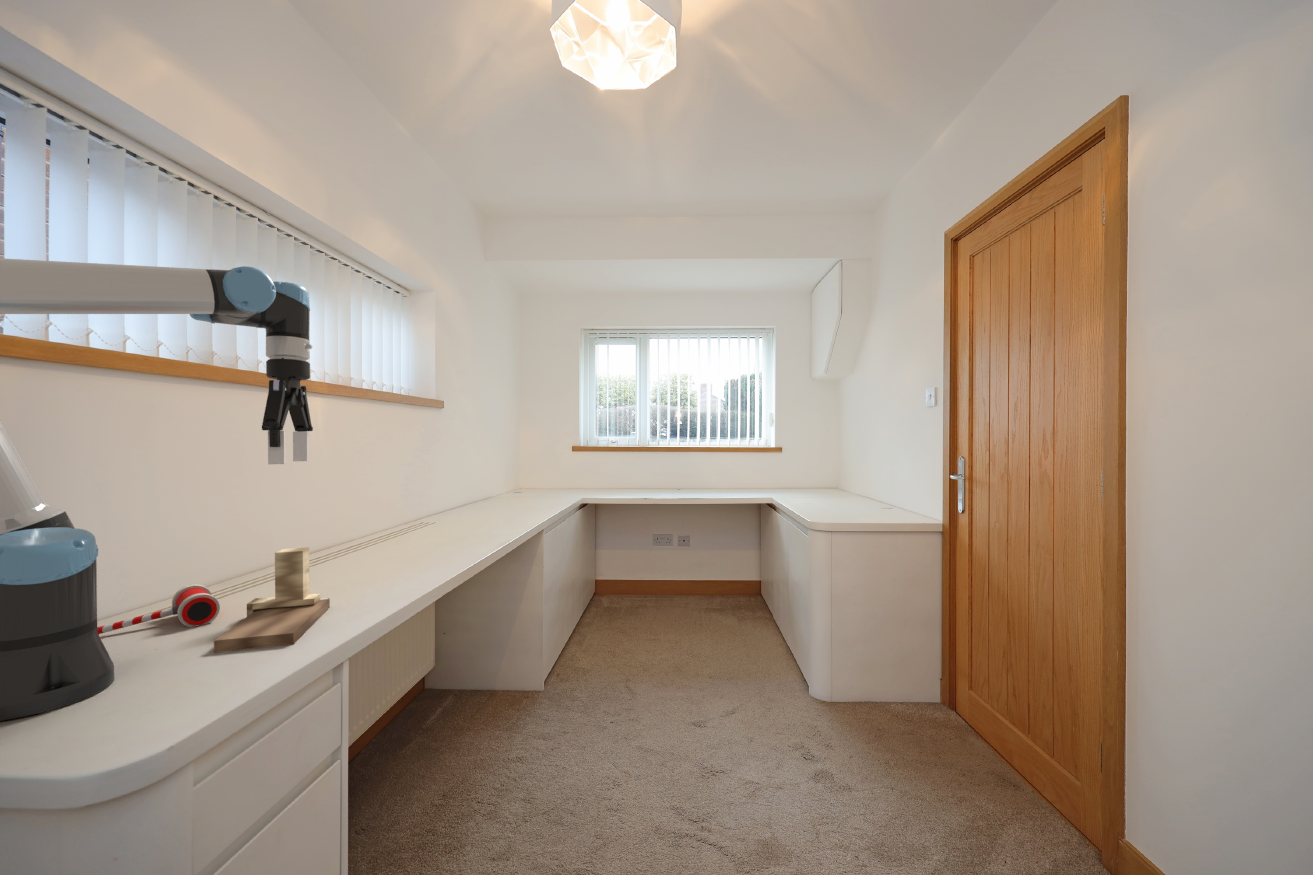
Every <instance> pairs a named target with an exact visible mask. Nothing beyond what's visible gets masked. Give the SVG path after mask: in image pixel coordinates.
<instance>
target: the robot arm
mask: <svg viewBox="0 0 1313 875" xmlns="http://www.w3.org/2000/svg"><path fill="white" fill-rule="evenodd" d="M310 311H311V307H310V297H309V292H308V290H307V289H306V287H304V286H302V285H301V284H297V283H294V282H287V281H285V282H283V281H273V280H272V278H271V277H270V276H269V275H268V274H267V273H266V272H264V271H263V270H261V269H259V268H256V267H253V266H249V265H248V266H247V265H246V266H237V267H233V268H232V269H229V270H228V269H215V268H214V269H213V268H212V269H204V268H191V267H189V268H188V267H175V266H174V267H170V266H155V265H154V266H150V265H132V264H117V263H116V264H113V263H97V262H96V263H93V262H76V261H75V262H74V261H56V260H55V261H54V260H37V259H21V258H20V259H19V258H18V259H17V258H0V315H189V316H190V317H191V318H192V319H193V320H195V321H201V322H207V323H210V324H224V325H232V326H242V327H248V328H249V327H251V328H256V329H265V356H266V357H267V358H269V359H267V360H266V362H265V364H266V366H265V367H266V369H265V371H266V373H265V374H266V375H265V376H266V377H267V378H268V379H270V380H269V381H268V392H267V399H266V403H265V408H264V413H263V418H262V423H261V424H262V425H261V431H267V464H268V465H286V464H287V463H286V458H287V456H286V452H287V451H286V430H283V429H284V427H285V424H286V419H287V416H288V414H289V415H290V419H291V421H292V426H293V429H294V431H292V461H293V462H309V432H313V430H314V427H313V425H312V421H311V414H310V408H309V403H308V396H307V386H305V385H301V381H308V380H310V378H311V363H310V362H309V361H307V360H309V359H310V357H311V356H310V350H312V348H313V345H312V344H310ZM96 540H97V539H96V536H95V535H94V534H93V533H92V532H90V531H89V530H86V529H83V528H75V526H74V524H73V522H72V520H71V518H70V517H69V515H68V514H67V512H66V510H65V508H62V507H59V506H56V505H55V506H54V505H51V504H48V503H47V502H46V500H45V498H44V497H43V495H42V494H41V492H40V489H39V487H37V485H36V483H35V481H34V479H33V477H32V476H31V474H30V472H29V470H28V468H27V466H26V465H25V462H24V461H23V459H22V458H21V456H20V453H19V452H18V450H17V448H16V447H15V445H14V443H13V441H12V439H11V438H10V436H9V434H8V432H7V430H6V429H5V427H4V424H3V423H2V421H1V420H0V722H1V721H7V720H13V719H18V718H23V717H28V716H33V715H36V714H41V713H45V712H48V711H51V710H55V709H59V708H63V707H65V706H69V705H72V704H75V703H76V702H77V703H78V702H79V701H82V700H84V699H87V698H89V697H92V696H93V695H96V694H99V693H101V692H102V691H103V690H104V691H105V690H106V689H107V688H109V687H110V686H111V685H112V684H113V683H114V681H115V665H114V661H112V658H111V656H110V655H109V652H108V650H107V648H106V646H105V644H104V642H103V640H102V638H101V636H100V634H98V631H97V627H98V583H97V582H98V580H97V578H98V574H97V571H98V570H97V568H98V566H97V565H98V564H97V558H98V556H99V548H98V545H97V541H96Z"/></svg>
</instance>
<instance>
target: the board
mask: <svg viewBox="0 0 1313 875" xmlns="http://www.w3.org/2000/svg"><path fill="white" fill-rule="evenodd" d="M330 600H331V599H330V598H320V600H319V601H318V602H316V603H315V604H313V605H301V606H289V607H277V608H265V609H257V610H256V611H254V612H253V613H252V614H250V615H249V616H247V615H246V617H245V618H244V619H242V620H241V621H239V622H238V623H237V624H235V625H234V626H232V627H231V628H229V629H228V630H227V631H225V632H224V633H223V634H221V635H219V636H218V637H217V638H216V639H214V640H213V653H218V652H230V651H238V650H239V651H240V650H248V649H259V648H260V649H261V648H268V647H269V648H270V647H280V646H290V645H294V644H296V642H298V640H300V638H301V637H302V636H304V634H305V633H306V632H308V630H309V629H310V628H312V627H313V625H314V624H315V623H316V622H317V621H318V620H319V619H320V618H321V617H323V615H324V614H326V612H327V611H328V610H329V609H330V608H331V603H330V602H331V601H330Z"/></svg>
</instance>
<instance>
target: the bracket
mask: <svg viewBox="0 0 1313 875" xmlns="http://www.w3.org/2000/svg"><path fill="white" fill-rule="evenodd" d="M310 586H311V585H310V547H309V546H307V547H306V546H305V547H293V548H292V547H291V548H281V549H279V550H277V551H276V552H274V593H275V596H271V597H270V596H269V597H268V596H267V597H258V598H253V599H252V600H251V601H249V602H247V603H246V617H247V616H249V615H250V614H252V613H253V612H254V611H256V610H257V609H265V608H277V607H289V606H301V605H313V604H315V603H316V602H318V601H319V600H320V599H321V593H320V592H319V593H311V592H310Z"/></svg>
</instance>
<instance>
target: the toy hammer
mask: <svg viewBox="0 0 1313 875" xmlns="http://www.w3.org/2000/svg"><path fill="white" fill-rule="evenodd" d="M171 599H172V600H171V605H172V607H171V608H166V609H164V610H158V611H154V612H151V613H148V614H147V613H146V614H143V615H140V616H136V617H132V618H131V617H130V618H128V619H127V618H126V619H124V620H120V621H115V622H113V623H108V624H105V625H100V626H97V631H98V634H99V635H101V634H105V633H109V632H112V631H116V630H119V629H124V628H127V627H132V626H134V625H138V624H142V623H146V622H147V623H148V622H150V621H154V620H159V619H162V618H165V617H169V616H171V615H172V616H176V615H177V618H178V620H179V621H180V623H181V624H182V625H184V626H186V627H188V628H193V627H198V626H203V625H208V624H207V623H209V624H211V623H212V622H213V621H214V620H216V618H217V617H218V615H219V613H220V609H221V605H220V602H219V600H218V599H217V598H216V597H215V596H214V595H212V592H211V591H210V590H209V589H208V588H207V587H206V586H205V585H202V584H197V583H195V584H189V585H185V586H183V587H181V588H180V589H179V590H177V591H176V593H175V594H174V595H173V597H172V598H171ZM210 622H211V623H210ZM197 625H198V626H197Z"/></svg>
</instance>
